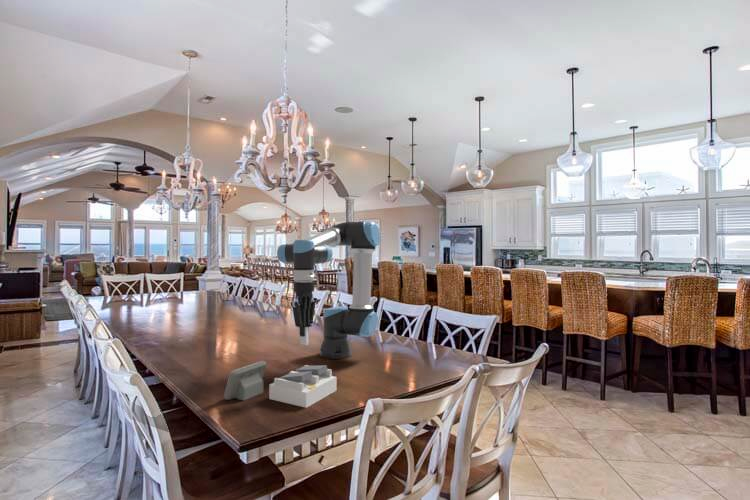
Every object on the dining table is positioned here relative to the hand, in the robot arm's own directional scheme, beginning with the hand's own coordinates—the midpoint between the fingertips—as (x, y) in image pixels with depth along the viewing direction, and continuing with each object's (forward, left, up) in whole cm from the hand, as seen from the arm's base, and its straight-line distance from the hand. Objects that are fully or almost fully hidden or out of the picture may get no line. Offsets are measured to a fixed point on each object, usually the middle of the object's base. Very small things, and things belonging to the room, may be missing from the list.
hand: (304, 344), depth 150 cm
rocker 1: (+4, -9, -10) cm, 14 cm away
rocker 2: (+4, 0, -10) cm, 11 cm away
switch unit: (+4, -5, -17) cm, 18 cm away
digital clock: (-15, -14, -17) cm, 27 cm away
